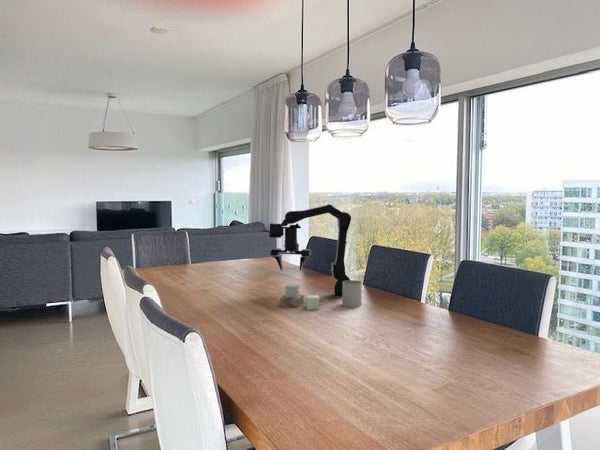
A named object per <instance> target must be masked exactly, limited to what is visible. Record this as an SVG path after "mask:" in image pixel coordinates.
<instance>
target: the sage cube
mask: <svg viewBox="0 0 600 450" xmlns="http://www.w3.org/2000/svg"><path fill="white" fill-rule="evenodd" d="M319 309H320V296H319V295H318V294H315V295H314V294H307V295H306V310H319Z"/></svg>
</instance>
